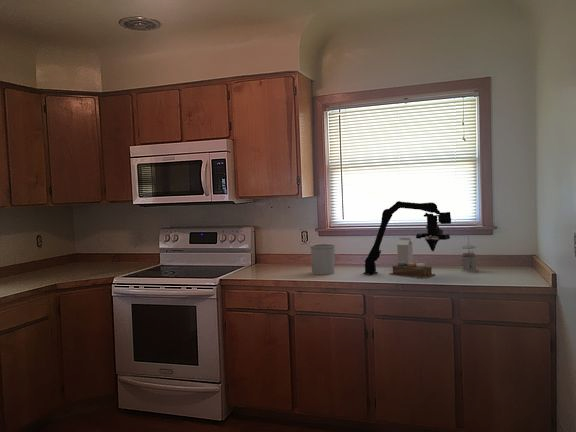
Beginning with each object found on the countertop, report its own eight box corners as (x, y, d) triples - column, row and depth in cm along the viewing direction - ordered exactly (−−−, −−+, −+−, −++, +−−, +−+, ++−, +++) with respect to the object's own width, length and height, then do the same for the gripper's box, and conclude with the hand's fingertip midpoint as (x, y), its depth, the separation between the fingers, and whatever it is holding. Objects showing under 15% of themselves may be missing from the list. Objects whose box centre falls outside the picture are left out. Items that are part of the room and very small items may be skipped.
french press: (475, 268, 290) (474, 227, 289) (481, 272, 279) (480, 228, 277) (458, 269, 291) (457, 227, 290) (463, 272, 280) (462, 229, 278)
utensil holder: (340, 272, 297) (339, 243, 296) (325, 276, 286) (324, 246, 285) (321, 270, 307) (320, 242, 306) (306, 273, 296) (305, 245, 295)
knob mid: (413, 273, 275) (413, 264, 275) (405, 272, 279) (405, 263, 279) (418, 272, 279) (418, 262, 278) (410, 271, 282) (410, 262, 282)
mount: (424, 278, 266) (423, 269, 266) (389, 274, 283) (388, 266, 283) (435, 275, 275) (435, 266, 274) (400, 271, 291) (400, 263, 291)
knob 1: (404, 272, 279) (404, 263, 279) (396, 271, 283) (396, 262, 283) (409, 271, 283) (409, 262, 283) (401, 270, 287) (401, 261, 286)
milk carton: (408, 269, 298) (407, 238, 297) (397, 268, 302) (396, 238, 301) (413, 267, 303) (412, 237, 302) (402, 266, 308) (401, 237, 307)
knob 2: (422, 274, 271) (422, 265, 270) (414, 273, 274) (414, 264, 274) (427, 273, 274) (427, 263, 274) (419, 272, 278) (419, 263, 278)
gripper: (454, 223, 277) (454, 250, 278) (425, 222, 291) (425, 248, 291) (444, 225, 269) (445, 252, 270) (415, 224, 283) (415, 250, 284)
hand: (432, 251), depth 279 cm, fingers closed
